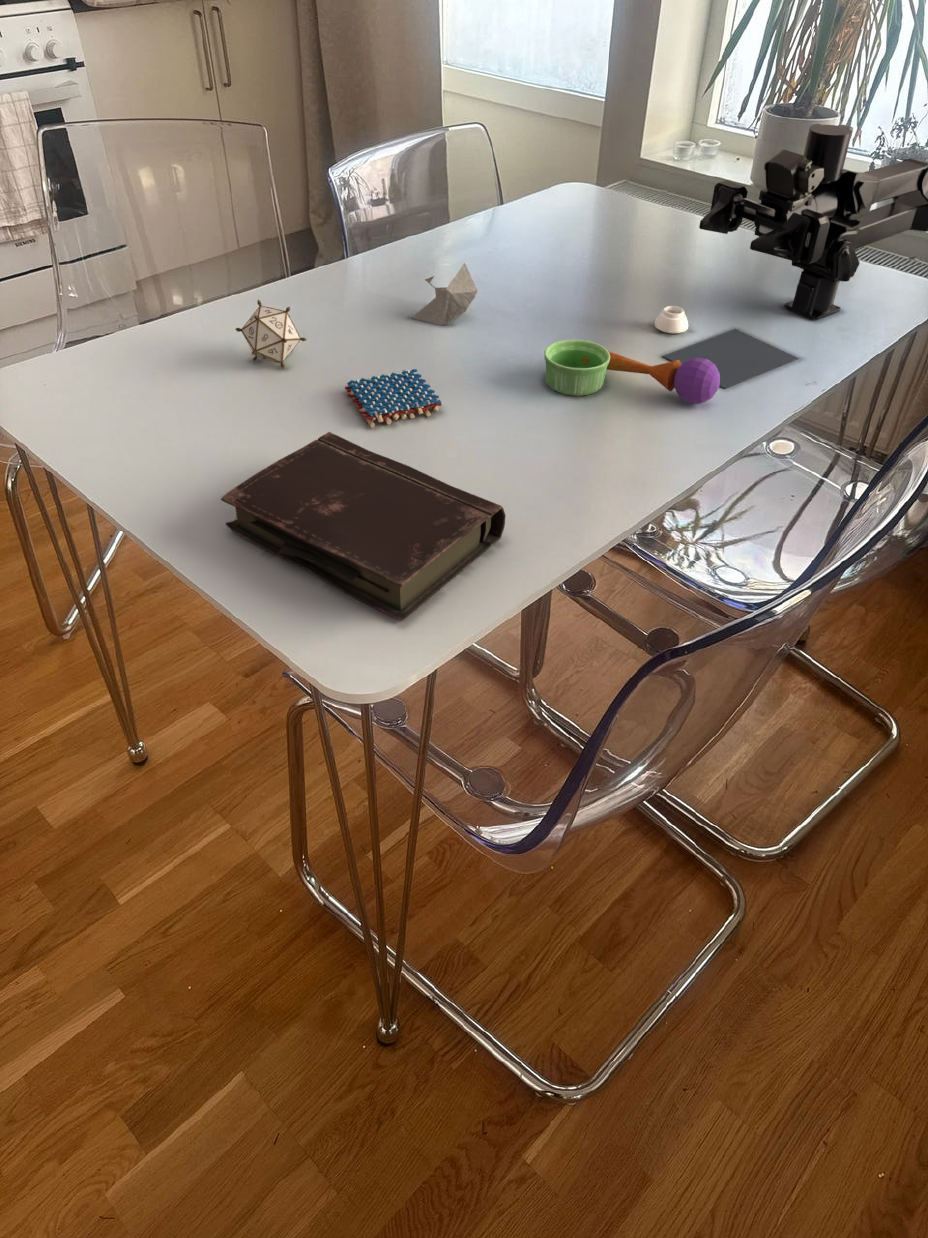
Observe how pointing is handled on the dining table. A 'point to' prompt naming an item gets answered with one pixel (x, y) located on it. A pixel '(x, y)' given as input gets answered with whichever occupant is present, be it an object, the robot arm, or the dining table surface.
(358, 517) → the diary
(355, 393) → the woven mat
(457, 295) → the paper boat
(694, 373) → the kendama
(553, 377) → the ramekin
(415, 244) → the dining table surface
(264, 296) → the dining table surface
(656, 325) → the white jar
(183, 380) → the dining table surface
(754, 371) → the slate mat
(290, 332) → the game die
